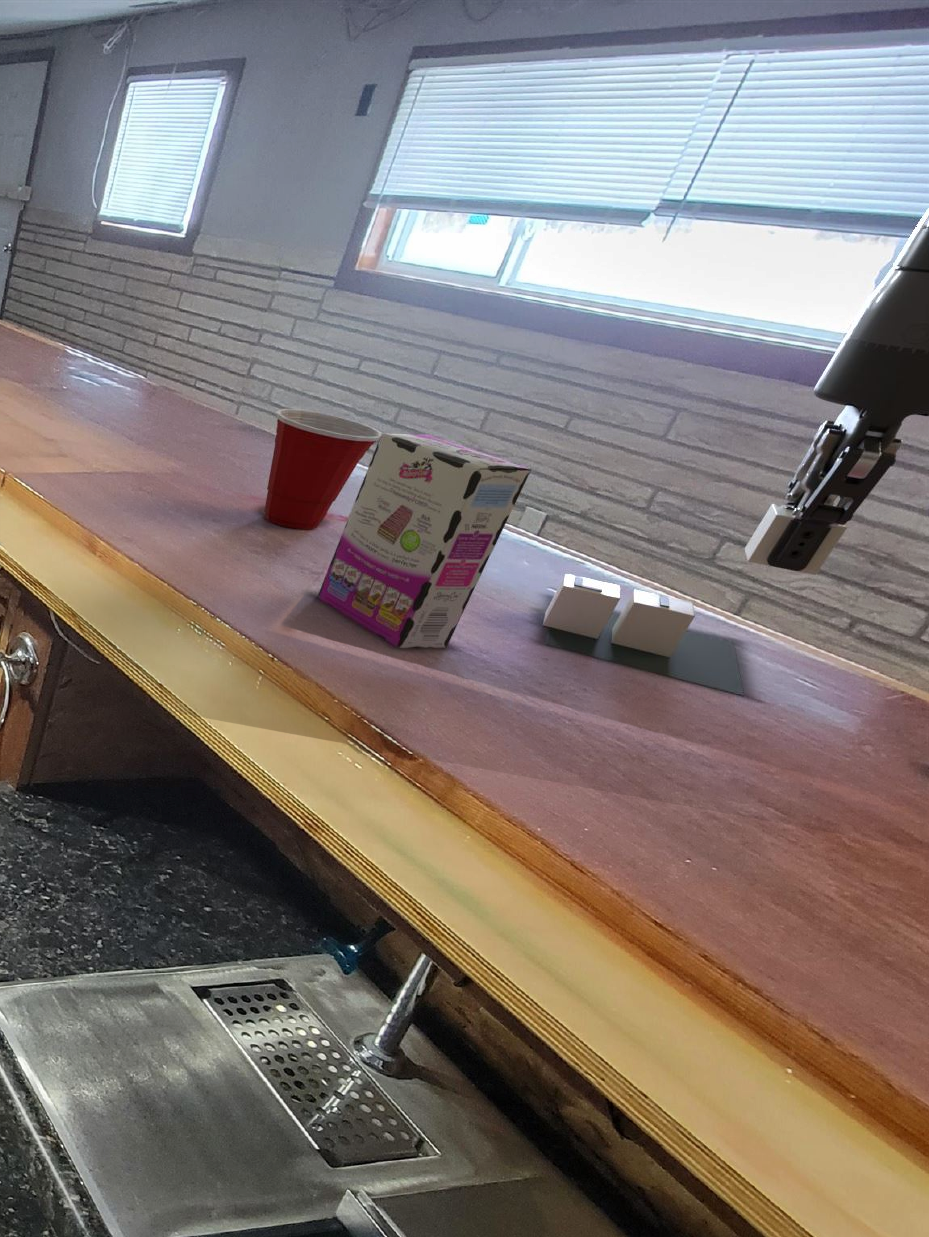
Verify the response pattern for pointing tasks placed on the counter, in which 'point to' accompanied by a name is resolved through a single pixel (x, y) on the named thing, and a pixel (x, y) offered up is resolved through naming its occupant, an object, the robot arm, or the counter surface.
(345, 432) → the plastic cup
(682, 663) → the word mat
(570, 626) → the tile
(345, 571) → the candy bar box
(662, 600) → the tile
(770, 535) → the tile
